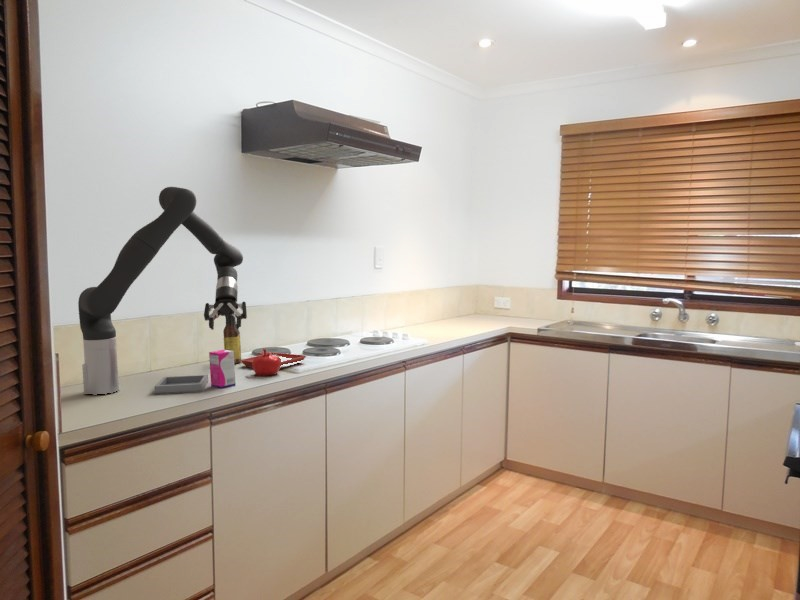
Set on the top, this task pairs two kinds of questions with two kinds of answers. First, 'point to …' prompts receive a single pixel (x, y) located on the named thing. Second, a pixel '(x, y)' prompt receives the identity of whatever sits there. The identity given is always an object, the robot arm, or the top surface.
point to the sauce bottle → (232, 338)
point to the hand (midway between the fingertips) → (224, 327)
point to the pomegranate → (266, 364)
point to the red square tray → (294, 357)
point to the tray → (181, 384)
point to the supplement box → (222, 368)
